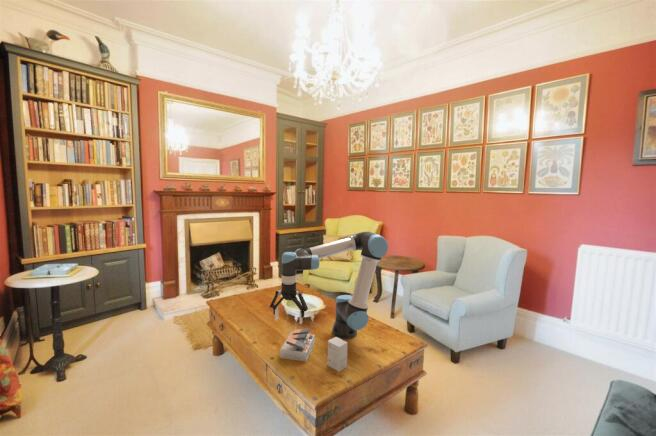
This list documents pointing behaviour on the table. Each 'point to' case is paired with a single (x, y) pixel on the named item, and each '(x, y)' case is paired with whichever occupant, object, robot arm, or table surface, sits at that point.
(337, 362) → the small box
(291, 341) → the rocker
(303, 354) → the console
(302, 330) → the rocker
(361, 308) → the robot arm
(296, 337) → the rocker
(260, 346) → the table surface
